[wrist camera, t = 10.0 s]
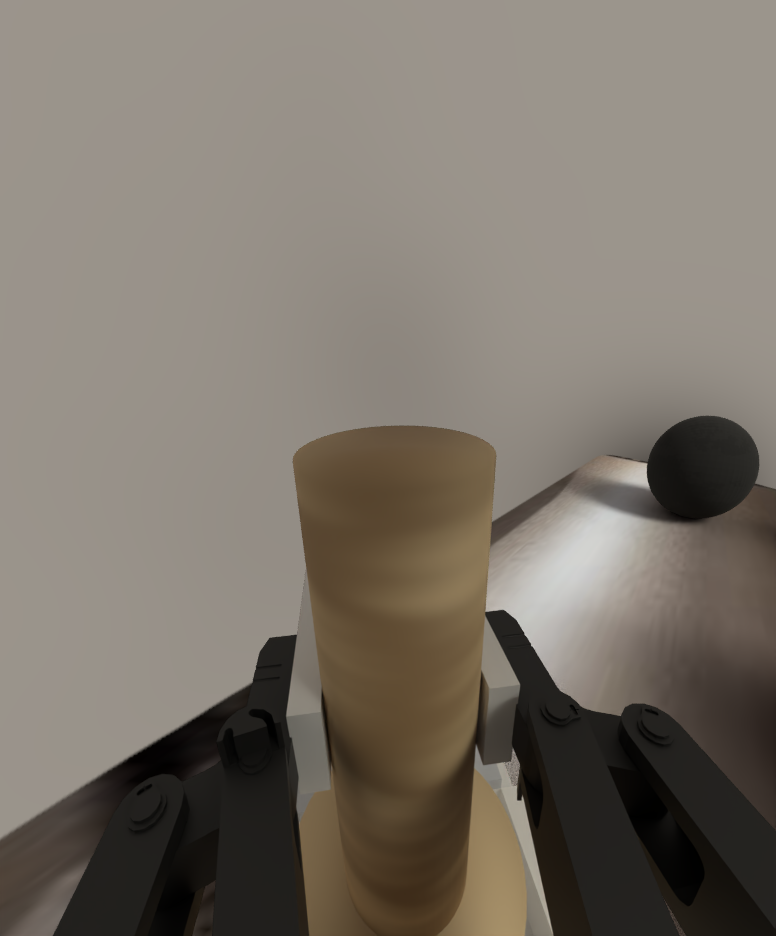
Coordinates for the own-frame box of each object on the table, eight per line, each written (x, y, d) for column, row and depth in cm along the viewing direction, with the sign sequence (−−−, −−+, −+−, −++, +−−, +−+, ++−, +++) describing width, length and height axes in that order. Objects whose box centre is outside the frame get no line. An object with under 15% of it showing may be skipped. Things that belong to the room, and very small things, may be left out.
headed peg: (475, 756, 17) (500, 404, 12) (570, 1054, 10) (751, 523, 5) (304, 782, 16) (243, 419, 11) (279, 1125, 9) (67, 590, 4)
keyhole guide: (466, 673, 33) (468, 628, 31) (730, 1389, 11) (788, 1370, 9) (291, 697, 32) (283, 651, 30) (178, 1585, 9) (119, 1610, 8)
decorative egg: (622, 509, 60) (641, 415, 54) (662, 490, 66) (682, 404, 60) (718, 544, 50) (752, 434, 45) (755, 518, 56) (789, 417, 50)
